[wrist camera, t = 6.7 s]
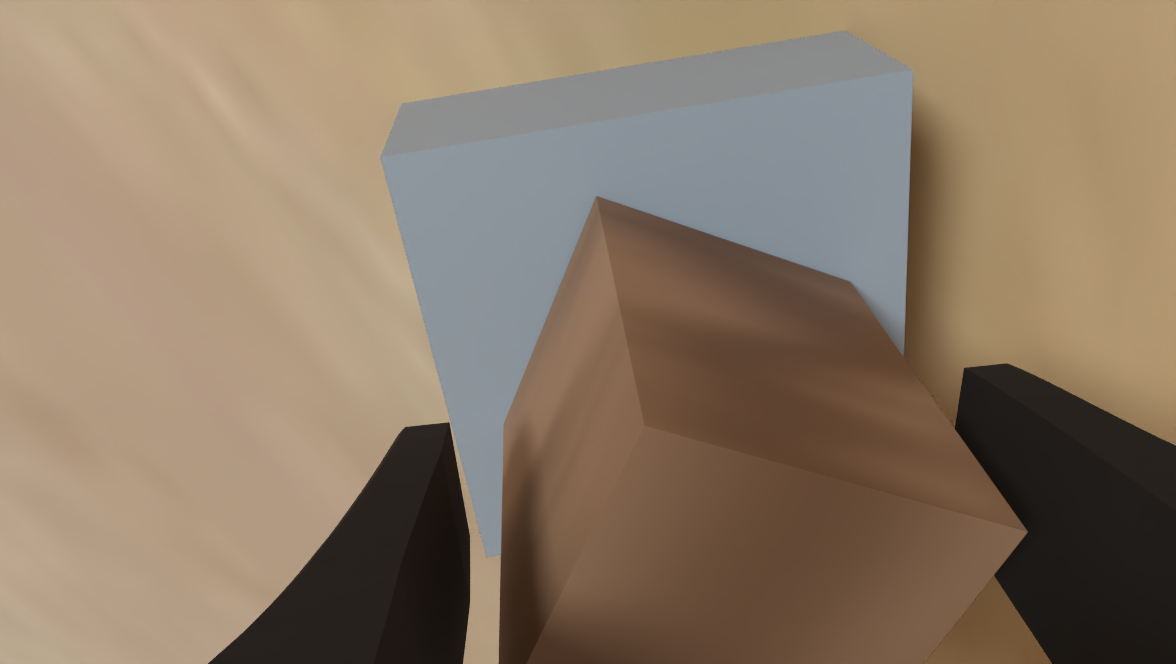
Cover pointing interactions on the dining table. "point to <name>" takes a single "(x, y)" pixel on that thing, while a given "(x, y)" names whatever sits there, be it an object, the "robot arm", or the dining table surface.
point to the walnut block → (730, 468)
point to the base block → (641, 197)
